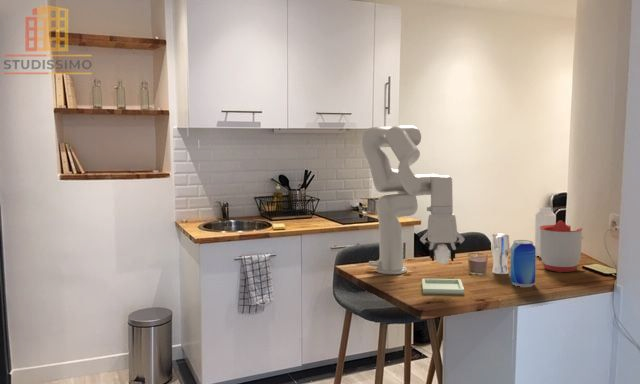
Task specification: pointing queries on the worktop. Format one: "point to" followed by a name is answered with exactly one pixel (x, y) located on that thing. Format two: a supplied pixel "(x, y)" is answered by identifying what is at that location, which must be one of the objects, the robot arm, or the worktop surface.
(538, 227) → the milk
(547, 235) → the citrus juicer
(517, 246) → the beer can
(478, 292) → the worktop surface
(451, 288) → the tray
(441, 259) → the white round lump
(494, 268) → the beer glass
